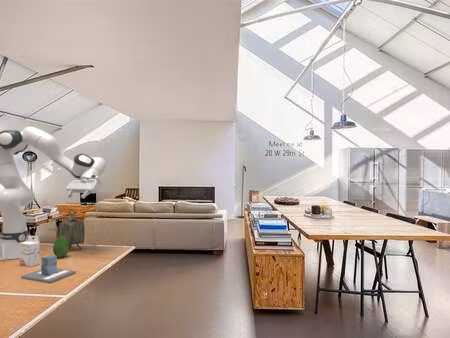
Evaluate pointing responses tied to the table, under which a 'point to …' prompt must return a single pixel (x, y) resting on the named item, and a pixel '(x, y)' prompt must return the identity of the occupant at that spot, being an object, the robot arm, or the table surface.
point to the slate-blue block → (48, 265)
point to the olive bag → (72, 230)
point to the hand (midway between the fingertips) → (75, 197)
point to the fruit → (60, 247)
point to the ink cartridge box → (30, 251)
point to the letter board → (48, 279)
